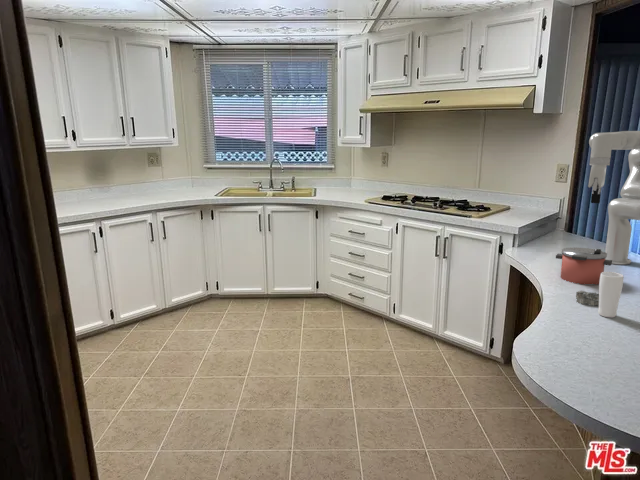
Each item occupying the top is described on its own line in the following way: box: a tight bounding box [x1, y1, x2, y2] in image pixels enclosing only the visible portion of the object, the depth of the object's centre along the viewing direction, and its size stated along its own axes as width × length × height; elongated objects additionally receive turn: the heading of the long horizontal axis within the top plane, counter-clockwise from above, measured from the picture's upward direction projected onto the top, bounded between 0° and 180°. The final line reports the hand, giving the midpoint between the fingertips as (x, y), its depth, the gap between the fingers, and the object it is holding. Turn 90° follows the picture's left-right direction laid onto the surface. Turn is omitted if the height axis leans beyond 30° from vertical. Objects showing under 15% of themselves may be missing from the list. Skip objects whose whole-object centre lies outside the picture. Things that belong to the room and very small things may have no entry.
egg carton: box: [575, 290, 599, 306], centre depth 164 cm, size 11×8×4 cm
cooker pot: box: [555, 253, 613, 285], centre depth 191 cm, size 18×21×11 cm
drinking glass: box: [597, 271, 624, 318], centre depth 151 cm, size 7×7×15 cm
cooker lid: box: [561, 247, 607, 261], centre depth 188 cm, size 20×17×3 cm
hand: (595, 202), depth 195 cm, fingers closed
